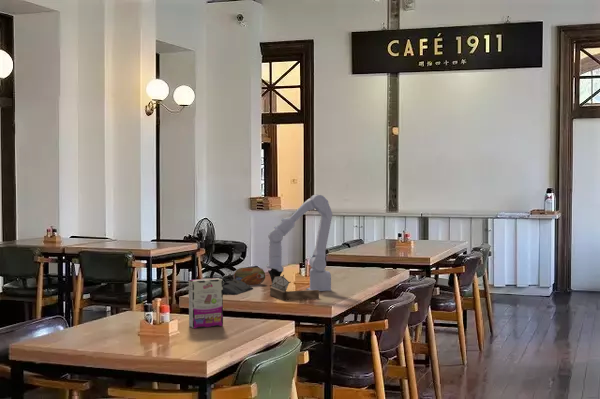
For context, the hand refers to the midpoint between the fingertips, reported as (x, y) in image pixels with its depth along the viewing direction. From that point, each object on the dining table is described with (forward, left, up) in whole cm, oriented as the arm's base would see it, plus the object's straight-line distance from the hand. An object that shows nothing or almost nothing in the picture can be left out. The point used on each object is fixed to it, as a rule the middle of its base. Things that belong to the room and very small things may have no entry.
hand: (275, 285), depth 354 cm
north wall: (-1, +26, -2) cm, 26 cm away
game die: (0, +6, -3) cm, 7 cm away
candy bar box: (+55, +68, -3) cm, 88 cm away
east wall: (+6, +19, -2) cm, 20 cm away
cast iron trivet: (+18, -7, -3) cm, 20 cm away
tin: (+3, -25, -3) cm, 25 cm away
